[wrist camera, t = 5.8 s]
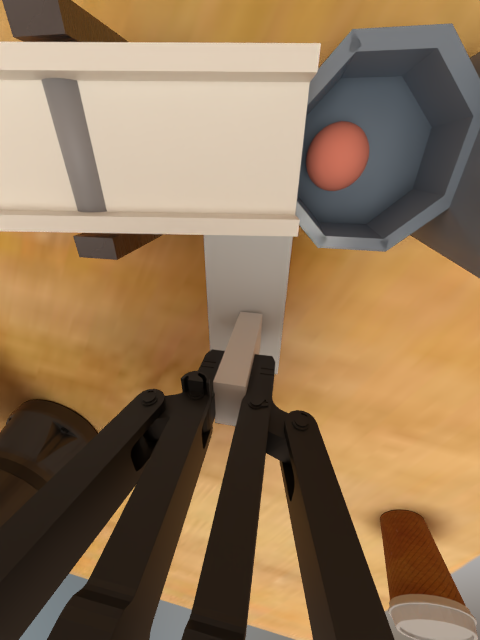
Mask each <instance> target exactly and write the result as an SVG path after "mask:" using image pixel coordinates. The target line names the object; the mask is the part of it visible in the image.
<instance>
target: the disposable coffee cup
mask: <svg viewBox="0 0 480 640" xmlns="http://www.w3.org/2000/svg"><path fill="white" fill-rule="evenodd" d="M380 522H381V530H382V538H383V546H384V555H385V563H386V571H387V579H388V587H389V595H390V602H389V605H390V607H389V610H388V611H389V614H390V616H391V617H392V618H393V620H394V623H395V626H396V628H397V630H398V631H399V632H400V633H402V634H403V635H405V636H407V637H410V638H412V639H415V640H478V635H477V632H476V624H477V622H476V619H475V618H474V616H473V615H472V614H471V613H470V611H469V609H468V608H467V607H466V606H465V604H464V601H463V599H462V597H461V595H460V593H459V591H458V589H457V587H456V585H455V583H454V581H453V579H452V577H451V575H450V573H449V571H448V569H447V566H446V564H445V562H444V560H443V558H442V556H441V554H440V552H439V550H438V548H437V546H436V544H435V542H434V539H433V537H432V535H431V533H430V531H429V529H428V527H427V525H426V523H425V521H424V519H423V517H422V516H420V515H419V514H417V513H414V512H411V511H405V510H394V511H389V512H386V513H384V514H383V515H382V516H381V517H380Z"/></svg>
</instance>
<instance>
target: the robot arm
mask: <svg viewBox="0 0 480 640" xmlns="http://www.w3.org/2000/svg"><path fill="white" fill-rule="evenodd" d="M261 329H262V314H259V313H249V312H240V314H239V316H238V319H237V321H236V324H235V327H234V329H233V332H232V334H231V337H230V339H229V342H228V345H227V347H226V350H225V351H222V350H214V349H212V350H211V351H209V352H208V353H207V354H206V355H205V357H204V359H203V362H202V364H201V367H200V368H199V370H198V371H192V372H189V373H187V374H185V375H184V376H183V377H182V378H181V383H182V390H183V392H182V393H180V394H176V395H169V396H164V394H163V392H162V391H160V390H157V389H148V390H146V391H143V392H142V393H140V394H139V395H138V396H137V397H136V398H135V399H133V400H132V401H131V402H130V403H129V404H128V405H127V406H126V407H125V408H124V409H123V410H122V411H121V412H120V413H119V414H118V415H117V416H116V417H115V418H114V419H113V420H112V421H111V422H110V423H108V424H107V425H106V426H105V427H104V428H103V429H102V430H101V431H100V432H99V433H98V434H97V433H96V431H95V430H94V428H93V427H92V426H91V425H90V424H89V423H88V422H87V421H86V420H84V419H83V418H82V417H81V416H79V415H78V414H76V413H75V412H73V411H71V410H70V409H68V408H66V407H63V406H61V405H59V404H56V403H53V402H49V401H44V400H30V401H27V402H25V403H23V404H22V405H21V406H20V407H19V408H18V409H16V410H15V411H14V412H13V413H12V414H11V415H10V416H9V418H8V420H7V422H6V426H5V427H4V428H3V429H2V431H1V432H0V640H19V638H20V637H21V636H22V635H23V633H24V632H25V630H26V629H27V628H28V626H29V625H30V624H31V623H32V621H33V620H34V619H35V617H36V616H37V615H38V613H39V612H40V611H41V609H42V608H43V607H44V605H45V604H46V603H47V601H48V600H49V599H50V598H51V596H52V595H53V594H54V592H55V591H56V590H57V588H58V587H59V586H60V584H61V583H62V582H63V580H64V579H65V578H66V576H67V575H68V574H69V572H70V571H71V570H72V569H73V567H74V566H75V565H76V563H77V562H78V561H79V559H80V558H81V557H82V555H83V554H84V553H85V551H86V550H87V549H88V547H89V546H90V545H91V543H92V542H93V541H94V539H95V538H96V537H97V536H98V534H99V533H100V532H101V530H102V529H103V528H104V526H105V525H106V524H107V522H108V521H109V520H110V518H111V517H112V516H113V514H114V513H115V512H116V510H117V509H118V508H119V506H120V505H121V504H122V503H123V501H124V500H125V499H126V497H127V496H128V495H129V493H130V492H131V491H132V489H133V488H134V487H135V488H134V490H133V492H132V494H131V496H130V498H129V500H128V502H127V504H126V506H125V508H124V510H123V512H122V514H121V516H120V518H119V520H118V522H117V524H116V526H115V528H114V530H113V532H112V534H111V536H110V538H109V540H108V542H107V544H106V546H105V548H104V550H103V552H102V554H101V556H100V558H99V560H98V562H97V564H96V566H95V568H94V570H93V572H92V574H91V576H90V578H89V580H88V582H87V584H86V585H85V586H84V587H83V588H82V589H81V590H80V591H79V592H77V593H76V594H74V595H73V596H72V598H71V599H70V600H69V602H68V603H67V604H66V606H65V607H64V609H63V611H62V612H61V614H60V616H59V618H58V620H57V621H56V623H55V625H54V627H53V629H52V631H51V633H50V635H49V637H48V638H47V640H149V638H150V631H151V626H152V623H153V619H154V616H155V613H156V610H157V607H158V603H159V600H160V597H161V594H162V591H163V588H164V584H165V581H166V578H167V575H168V572H169V569H170V565H171V562H172V559H173V556H174V553H175V550H176V546H177V543H178V540H179V537H180V534H181V530H182V527H183V524H184V521H185V518H186V515H187V511H188V508H189V505H190V502H191V499H192V496H193V492H194V489H195V486H196V483H197V480H198V477H199V473H200V470H201V467H202V464H203V461H204V458H205V454H206V451H207V448H208V445H209V442H210V438H211V435H212V430H213V426H212V424H213V421H214V418H215V423H219V424H225V425H232V426H236V427H235V431H234V435H233V439H232V444H231V448H230V452H229V456H228V461H227V465H226V469H225V473H224V478H223V482H222V486H221V490H220V494H219V499H218V503H217V507H216V511H215V516H214V520H213V524H212V528H211V533H210V537H209V541H208V545H207V549H206V554H205V558H204V562H203V566H202V571H201V575H200V579H199V583H198V588H197V592H196V596H195V600H194V604H193V608H192V613H191V615H190V619H189V621H188V623H187V625H186V627H185V630H184V633H183V637H182V640H245V637H246V628H247V619H248V610H249V601H250V592H251V583H252V574H253V565H254V556H255V547H256V538H257V529H258V520H259V511H260V501H261V492H262V483H263V474H264V465H265V456H266V453H267V454H269V455H271V456H273V457H274V458H276V459H278V460H280V466H281V471H282V477H283V482H284V487H285V492H286V498H287V503H288V508H289V514H290V519H291V524H292V530H293V535H294V540H295V545H296V551H297V556H298V561H299V567H300V572H301V577H302V583H303V588H304V593H305V598H306V604H307V609H308V614H309V620H310V625H311V630H312V636H313V640H394V637H393V634H392V631H391V629H390V626H389V623H388V620H387V617H386V615H385V612H384V609H383V606H382V603H381V601H380V598H379V595H378V592H377V590H376V587H375V584H374V581H373V578H372V576H371V573H370V570H369V567H368V564H367V562H366V559H365V556H364V553H363V550H362V548H361V545H360V542H359V539H358V537H357V534H356V531H355V528H354V525H353V523H352V520H351V517H350V514H349V511H348V509H347V506H346V503H345V500H344V497H343V495H342V492H341V489H340V486H339V484H338V481H337V478H336V475H335V472H334V470H333V467H332V464H331V461H330V458H329V456H328V453H327V450H326V447H325V444H324V442H323V439H322V436H321V433H320V431H319V428H318V425H317V422H316V421H315V419H314V417H312V416H311V415H310V414H309V413H307V412H304V411H299V410H296V411H292V412H290V413H287V412H284V411H282V410H280V409H279V408H278V407H277V406H276V405H275V404H274V403H273V400H272V392H273V383H274V373H275V364H276V362H275V360H274V358H273V356H267V355H259V352H260V345H261ZM135 485H136V486H135Z"/></svg>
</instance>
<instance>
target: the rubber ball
mask: <svg viewBox="0 0 480 640" xmlns="http://www.w3.org/2000/svg"><path fill="white" fill-rule="evenodd" d="M368 158H369V142H368V139H367V136H366V134H365V133H364V131H363V130H362V129H361V128H360V127H359V126H357V125H356V124H354V123H351V122H347V121H340V122H335V123H332V124H330V125H328V126H326V127H325V128H323V129H322V130H321V131H320V132H319V133H318V134H317V135H316V136H315V137H314V139H313V140H312V142H311V144H310V146H309V149H308V152H307V156H306V168H307V172H308V175H309V177H310V179H311V181H312V182H313V183H314V184H315V185H316V186H317V187H319V188H321V189H323V190H327V191H337V190H341V189H344V188H346V187H348V186H350V185H351V184H352V183H354V182H355V181H356V180H357V179H358V178H359V177H360V176H361V174H362V173H363V171H364V169H365V167H366V165H367V162H368Z"/></svg>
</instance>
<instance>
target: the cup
mask: <svg viewBox="0 0 480 640" xmlns="http://www.w3.org/2000/svg"><path fill="white" fill-rule="evenodd" d="M340 121H347V122H351V123H354V124H356V125H357V126H359V127H360V128H361V129H362V130H363V131H364V133H365V134H366V136H367V139H368V142H369V158H368V162H367V165H366V167H365V169H364V171H363V173H362V174H361V176H360V177H359V178H358V179H357V180H356V181H355V182H354V183H352V184H351V185H350V186H348V187H346V188H344V189H341V190H337V191H327V190H323V189H321V188H319V187H317V186H316V185H315V184H314V183H313V182H312V181H311V179H310V177H309V175H308V172H307V168H306V156H307V152H308V149H309V146H310V144H311V142H312V140H313V139H314V137H315V136H316V135H317V134H318V133H319V132H320V131H321V130H322V129H323V128H325V127H326V126H328V125H330V124H332V123H335V122H340ZM295 215H296V216H297V217H298V218H299V219H300V222H299V225H300V227H301V228H302V229H303V230H304V231H305V233H306V234H307V235H308V236H309V238H310V239H311V240H312V241H313V242H314V244H315V245H316V246H317V247H318V248H334V249H351V250H369V251H385V252H386V251H387V250H388V249H390V248H391V247H393V246H394V245H396V244H397V243H399V242H400V241H402V240H403V239H404V238H406V237H407V236H409V235H411V236H412V237H414V238H416V239H417V240H419V241H420V242H422V243H424V244H425V245H427V246H428V247H430V248H432V249H433V250H435V251H437V252H438V253H440V254H441V255H443V256H445V257H446V258H448V259H449V260H451V261H453V262H454V263H456V264H457V265H459V266H461V267H462V268H464V269H465V270H467V271H469V272H470V273H472V274H474V275H475V276H477V277H478V278H480V52H479V53H477V54H476V55H474V56H472V57H471V58H469V56H468V54H467V52H466V50H465V48H464V46H463V44H462V42H461V40H460V38H459V36H458V34H457V32H456V30H455V28H454V26H453V24H436V25H418V26H401V27H383V28H365V29H352V31H351V32H350V33H349V34H348V35H347V36H346V38H345V39H344V40H343V41H342V42H341V43H340V44H339V46H338V47H337V48H336V49H335V50H334V51H333V53H332V54H331V55H330V56H329V57H328V58H327V60H326V61H325V62H324V63H323V64H322V65H321V67H320V68H319V69H318V72H317V73H316V75H315V76H314V77H313V79H312V80H311V81H310V85H309V94H308V103H307V112H306V121H305V130H304V139H303V148H302V157H301V166H300V175H299V185H298V194H297V203H296V212H295Z"/></svg>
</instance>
